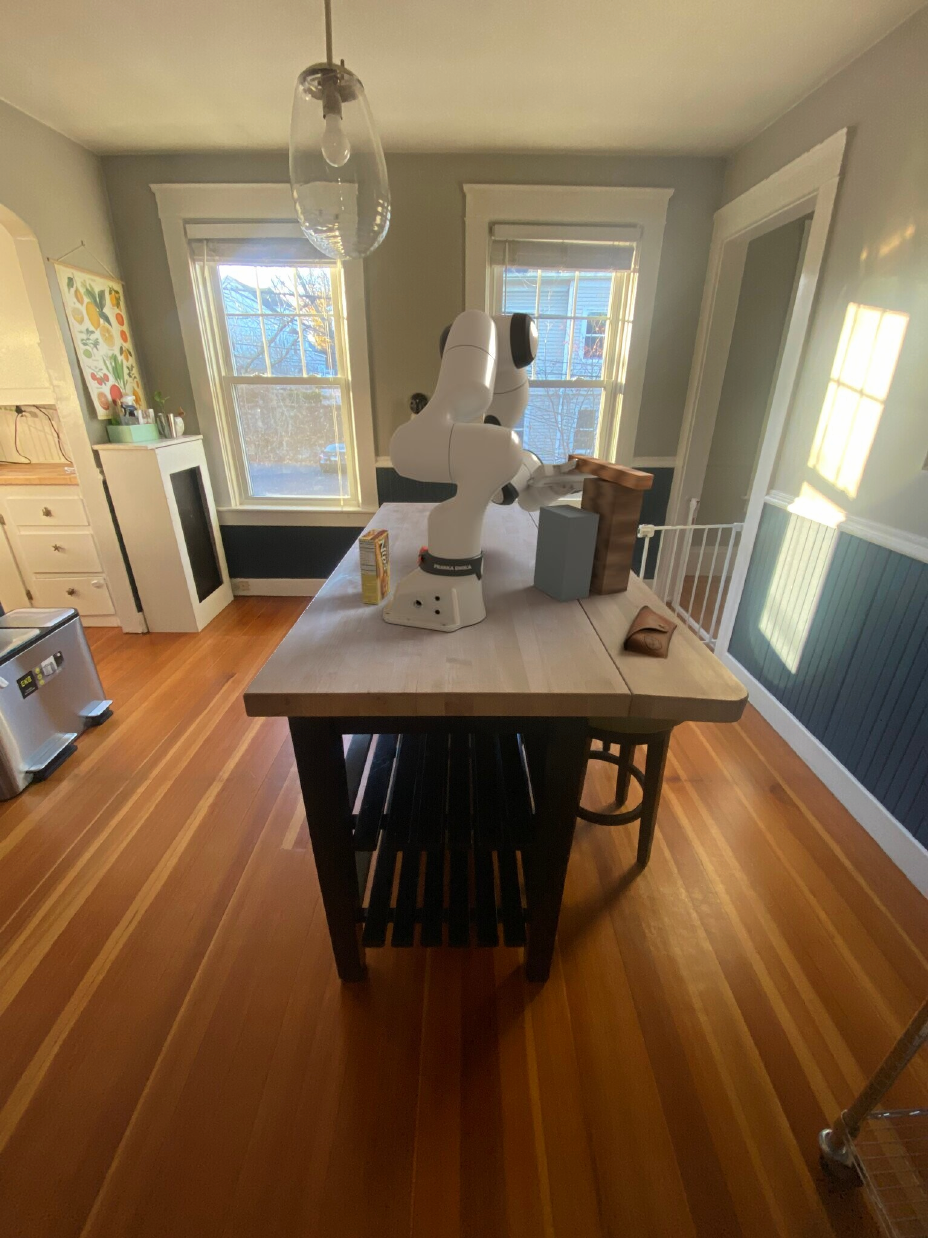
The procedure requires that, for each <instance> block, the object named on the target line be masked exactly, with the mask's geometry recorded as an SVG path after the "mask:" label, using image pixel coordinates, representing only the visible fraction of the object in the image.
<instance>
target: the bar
mask: <svg viewBox="0 0 928 1238" xmlns="http://www.w3.org/2000/svg"><path fill="white" fill-rule="evenodd" d="M572 459H579V466H577V467H576V468H573V469H576V470H579V471H582V472H585V473H588V474H591V475H594V476H597V477H600V478H603V479H606V480H609V481H612V482H615V483H618V484H621V485H624V486H627V487H630V488H633V489H636V490H643V489H644V490H651V489H652V486H653V481H654V478H655V475H654V474H651V473H648V472H645V471H641V470H637V469H635V468H631V467H627V466H625V465H620V464H616V463H613V462H612V461H607V460H603V459H601V458H597V457H592V456H589V455H586V454H583V453H573V454H571V453H570V454H568V457H567V462H569V461H571V460H572Z"/></svg>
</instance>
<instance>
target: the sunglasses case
mask: <svg viewBox="0 0 928 1238" xmlns="http://www.w3.org/2000/svg"><path fill="white" fill-rule="evenodd" d="M677 627H678V624H677V623H675V621H672V620H670V619H668V618H666V616H665V617H664V616H663V615H661V614H660V613H658V612H657V611H655V610H653V608H651V607H650V606H649V605H647V604H645V605H643V606H642V607H640V609H639V610H638V611H637V614H636V615H635V618H634V619H633V621H632V624H631V625H630V627H629V629H628V631H627V633H626V636H625V638H624V641H623V644H622V645H623V646H622V647H623V649H624V651H627V652H631V653H634V654H640V655H645V656H648V657H654V658H660V659H664V660H667V659H668V654H669V647H670V643H671V640H672V637H673V634H674V631H675V630H676V628H677Z"/></svg>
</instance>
